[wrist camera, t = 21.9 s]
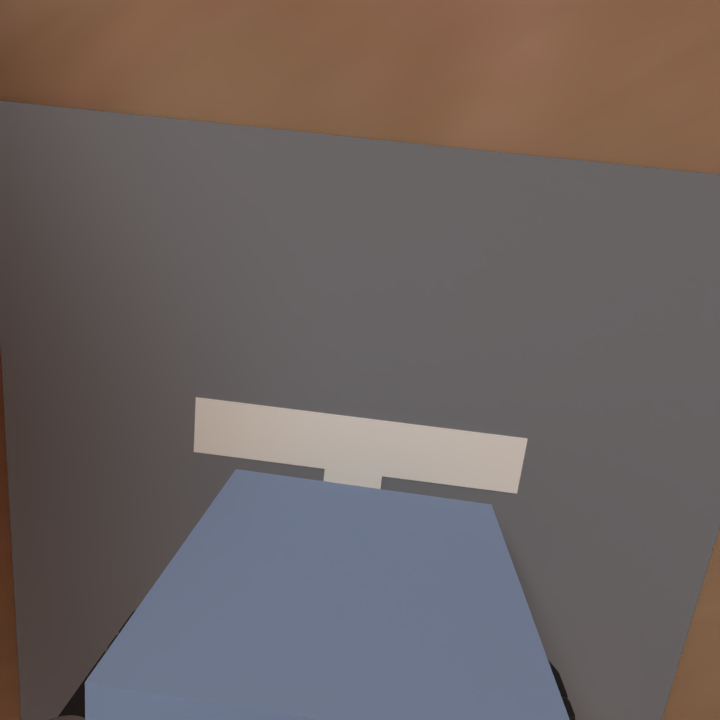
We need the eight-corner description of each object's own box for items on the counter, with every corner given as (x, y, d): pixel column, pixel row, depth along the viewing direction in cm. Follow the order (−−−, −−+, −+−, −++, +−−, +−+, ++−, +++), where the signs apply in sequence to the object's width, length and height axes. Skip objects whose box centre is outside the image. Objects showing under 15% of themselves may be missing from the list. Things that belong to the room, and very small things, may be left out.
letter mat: (29, 785, 18) (24, 792, 18) (-8, 101, 13) (-15, 98, 13) (609, 876, 17) (612, 885, 17) (815, 186, 12) (823, 185, 12)
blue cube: (222, 678, 13) (88, 1015, 8) (235, 469, 12) (85, 682, 6) (450, 714, 13) (494, 1090, 7) (491, 504, 12) (584, 761, 6)
